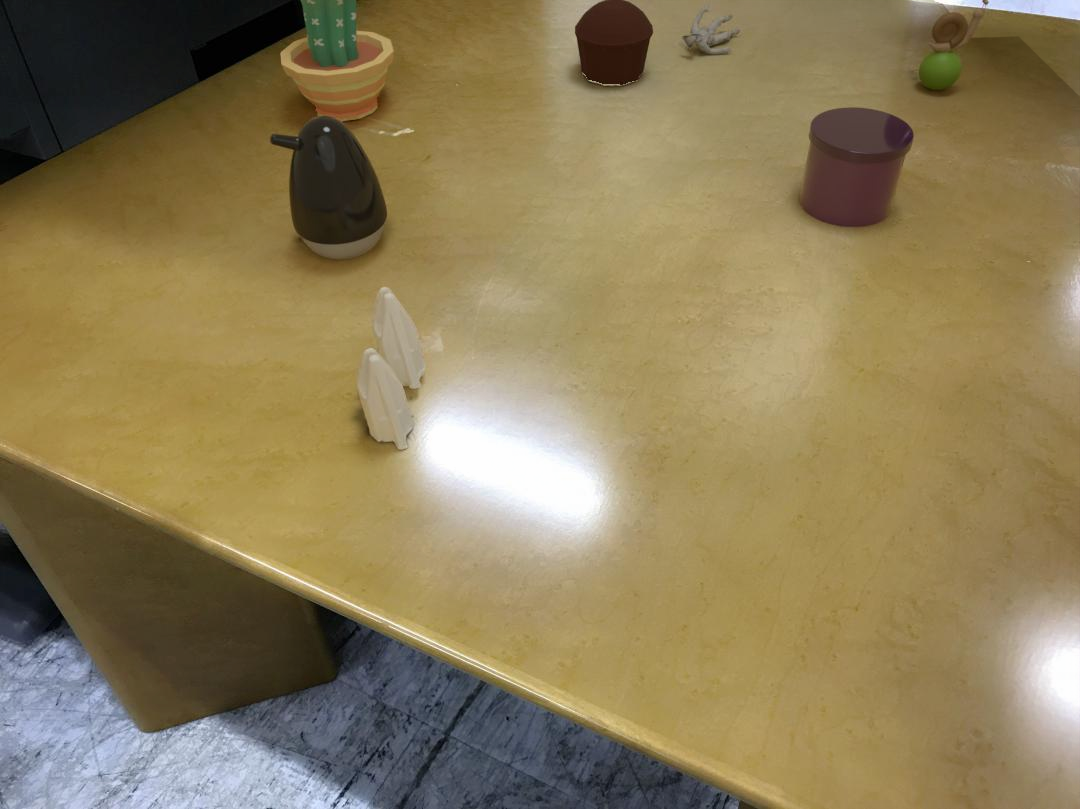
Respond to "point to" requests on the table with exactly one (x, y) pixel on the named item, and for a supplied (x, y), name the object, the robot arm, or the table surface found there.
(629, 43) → the muffin
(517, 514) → the table surface
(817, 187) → the jar
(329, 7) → the potted cactus
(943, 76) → the snail figurine
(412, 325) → the shaker set
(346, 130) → the pump dispenser
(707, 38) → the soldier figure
